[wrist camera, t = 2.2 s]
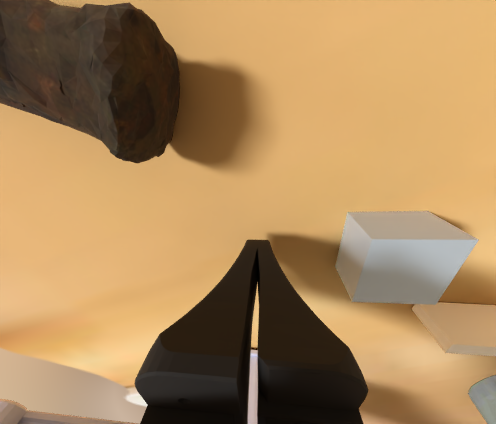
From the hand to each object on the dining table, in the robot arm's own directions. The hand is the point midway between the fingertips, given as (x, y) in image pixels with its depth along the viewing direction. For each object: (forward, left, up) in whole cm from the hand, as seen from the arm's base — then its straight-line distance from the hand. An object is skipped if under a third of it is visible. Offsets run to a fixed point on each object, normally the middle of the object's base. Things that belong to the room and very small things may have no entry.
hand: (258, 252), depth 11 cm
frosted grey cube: (0, -8, -2) cm, 8 cm away
